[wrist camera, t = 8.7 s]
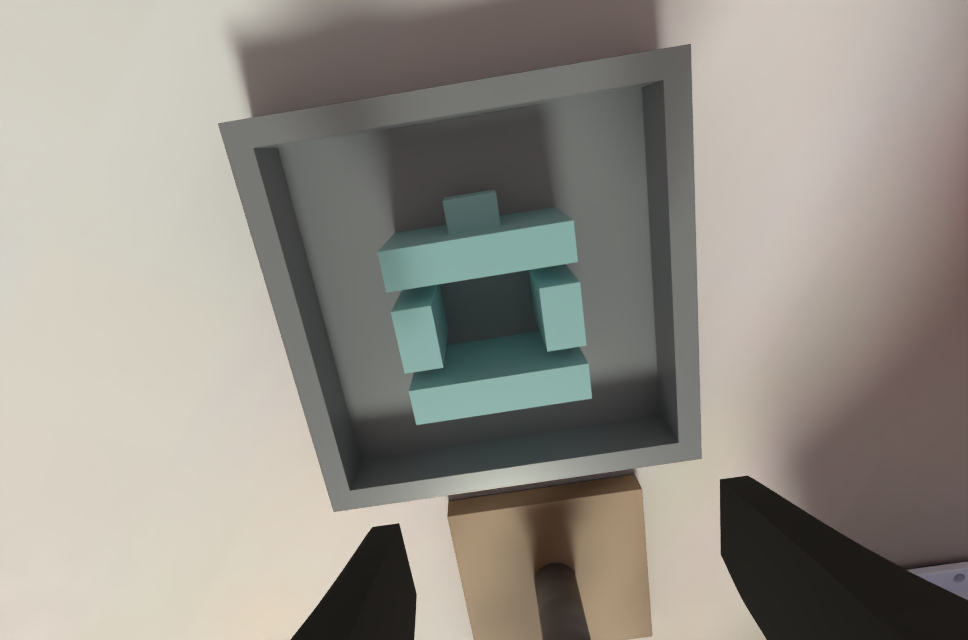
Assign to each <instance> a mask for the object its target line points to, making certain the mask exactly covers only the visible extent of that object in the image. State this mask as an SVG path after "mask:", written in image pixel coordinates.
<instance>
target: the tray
mask: <svg viewBox="0 0 968 640" xmlns="http://www.w3.org/2000/svg"><path fill="white" fill-rule="evenodd" d="M218 125H219V129H220V132H221V135H222V139H223V142H224V145H225V149H226V152H227V156H228V159H229V162H230V166H231V169H232V172H233V176H234V179H235V182H236V186H237V189H238V192H239V196H240V199H241V203H242V206H243V209H244V213H245V216H246V219H247V223H248V226H249V229H250V233H251V236H252V239H253V243H254V246H255V250H256V253H257V256H258V260H259V263H260V266H261V270H262V273H263V276H264V280H265V283H266V286H267V290H268V293H269V297H270V300H271V303H272V307H273V310H274V313H275V317H276V320H277V323H278V327H279V330H280V333H281V337H282V340H283V344H284V347H285V350H286V354H287V357H288V360H289V364H290V367H291V370H292V374H293V377H294V380H295V384H296V387H297V391H298V394H299V397H300V401H301V404H302V407H303V411H304V414H305V417H306V421H307V424H308V427H309V431H310V434H311V438H312V441H313V444H314V448H315V451H316V454H317V458H318V461H319V464H320V468H321V471H322V474H323V478H324V481H325V485H326V488H327V491H328V495H329V498H330V501H331V505H332V508H333V511H334V512H336V511H343V510H350V509H357V508H364V507H371V506H378V505H385V504H392V503H399V502H406V501H413V500H419V499H426V498H433V497H440V496H447V495H454V494H461V493H468V492H475V491H482V490H489V489H496V488H502V487H509V486H516V485H523V484H530V483H537V482H544V481H551V480H558V479H565V478H572V477H579V476H586V475H592V474H599V473H606V472H613V471H620V470H627V469H634V468H641V467H648V466H655V465H662V464H669V463H676V462H682V461H689V460H696V459H702V451H701V414H700V376H699V338H698V300H697V262H696V224H695V186H694V148H693V110H692V72H691V44H688V45H682V46H676V47H670V48H664V49H658V50H652V51H646V52H640V53H634V54H628V55H622V56H616V57H610V58H604V59H599V60H593V61H587V62H581V63H575V64H569V65H563V66H557V67H551V68H545V69H539V70H533V71H527V72H521V73H515V74H509V75H503V76H497V77H491V78H486V79H480V80H474V81H468V82H462V83H456V84H450V85H444V86H438V87H432V88H426V89H420V90H414V91H408V92H402V93H396V94H390V95H384V96H378V97H372V98H367V99H361V100H355V101H349V102H343V103H337V104H331V105H325V106H319V107H313V108H307V109H301V110H295V111H289V112H283V113H277V114H271V115H265V116H259V117H253V118H248V119H242V120H236V121H230V122H224V123H218ZM493 189H494V190H495V192H496V196H497V203H498V210H499V216H502V215H508V214H514V213H520V212H527V211H533V210H539V209H545V208H551V207H556V208H557V209H559V210H560V211H561V212H563V213H564V214H566V215H567V216H568V217H570V218H571V219H573V220H574V228H575V238H576V248H577V257H578V262H575V263H569V264H566V265H567V266H568V268H569V269H570V270H571V271H572V273H573V274H574V275H575V276H576V278H577V279H578V280H579V281H580V286H581V296H582V306H583V315H584V325H585V335H586V344H587V346H580V349H581V351H582V352H583V354H584V356H585V358H586V360H587V362H588V364H589V373H590V383H591V393H592V399H585V400H579V401H572V402H565V403H559V404H552V405H546V406H539V407H533V408H526V409H519V410H513V411H506V412H500V413H493V414H486V415H480V416H473V417H467V418H460V419H454V420H447V421H440V422H434V423H427V424H421V425H416V421H415V417H414V413H413V408H412V404H411V399H410V395H409V388H410V384H411V381H412V377H413V373H414V372H413V373H406V374H405V373H404V369H403V364H402V360H401V355H400V351H399V346H398V342H397V338H396V333H395V329H394V324H393V320H392V316H391V311H392V309H393V307H394V305H395V303H396V301H397V299H398V297H399V295H400V293H401V291H402V290H400V291H394V292H388V293H386V289H385V285H384V280H383V276H382V272H381V267H380V263H379V258H378V254H377V252H378V251H379V250H380V249H381V248H382V246H383V245H384V244H385V243H386V242H387V241H388V240H389V239H390V238H391V237H392V236H393V234H394V233H398V232H404V231H410V230H416V229H423V228H429V227H435V226H441V225H447V223H446V217H445V212H444V206H443V200H444V198H445V197H451V196H457V195H463V194H469V193H475V192H481V191H487V190H493ZM440 288H441V293H442V299H443V304H444V309H445V314H446V319H447V325H448V337H447V344H446V345H452V344H459V343H465V342H472V341H478V340H484V339H491V338H497V337H504V336H510V335H516V334H523V333H529V332H536V331H540V330H539V328H538V325H537V322H536V319H535V317H534V310H533V302H532V295H531V288H530V280H529V273H528V270H525V271H519V272H513V273H506V274H500V275H494V276H488V277H481V278H475V279H469V280H463V281H456V282H450V283H444V284H440Z"/></svg>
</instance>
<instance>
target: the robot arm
mask: <svg viewBox="0 0 968 640" xmlns="http://www.w3.org/2000/svg"><path fill="white" fill-rule="evenodd" d="M720 525H721V556H722V558H723V560H724V562H725V564H726V566H727V569H728V571H729V573H730V575H731V577H732V579H733V582H734V584H735V586H736V588H737V590H738V592H739V594H740V596H741V598H742V600H743V602H744V603H745V605H746V607H747V608H748V610H749V612H750V613H751V615H752V616H753V618H754V620H755V621H756V623H757V625H758V626H759V628H760V629H761V631H762V633H763V634H764V636H765V637H766V639H767V640H968V562H960V563H953V564H946V565H938V566H931V567H924V568H917V569H909V570H905V569H903V568H902V567H900V566H898V565H896V564H894V563H892V562H891V561H889V560H887V559H885V558H883V557H881V556H880V555H878V554H876V553H874V552H872V551H870V550H869V549H867V548H865V547H863V546H862V545H860V544H858V543H856V542H855V541H853V540H851V539H849V538H848V537H846V536H844V535H843V534H841V533H839V532H838V531H836V530H834V529H833V528H831V527H829V526H828V525H826V524H824V523H823V522H821V521H820V520H818V519H816V518H815V517H813V516H811V515H810V514H808V513H807V512H805V511H803V510H802V509H800V508H799V507H797V506H796V505H794V504H792V503H791V502H789V501H788V500H786V499H785V498H783V497H781V496H780V495H778V494H777V493H775V492H774V491H772V490H770V489H769V488H767V487H766V486H764V485H762V484H761V483H759V482H758V481H756V480H754V479H753V478H751V477H749V476H742V477H735V478H727V479H720ZM415 615H416V590H415V586H414V582H413V578H412V574H411V570H410V566H409V562H408V558H407V554H406V549H405V545H404V541H403V537H402V533H401V529H400V525H399V524H392V525H384V526H377V527H372V529H371V530H370V531H369V532H368V534H367V535H366V537H365V538H364V540H363V541H362V543H361V544H360V546H359V547H358V549H357V550H356V552H355V553H354V554H353V556H352V557H351V559H350V560H349V562H348V563H347V565H346V566H345V568H344V569H343V571H342V572H341V573H340V575H339V576H338V578H337V579H336V581H335V582H334V583H333V585H332V586H331V587H330V589H329V590H328V592H327V593H326V594H325V596H324V597H323V599H322V600H321V601H320V603H319V604H318V605H317V607H316V608H315V609H314V611H313V612H312V613H311V615H310V616H309V617H308V618H307V620H306V621H305V622H304V623H303V625H302V626H301V627H300V628H299V630H298V631H297V632H296V633H295V635H294V636H293V637H292V639H291V640H414V632H415Z"/></svg>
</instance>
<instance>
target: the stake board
mask: <svg viewBox="0 0 968 640" xmlns="http://www.w3.org/2000/svg"><path fill="white" fill-rule="evenodd" d="M448 522H449V526H450V531H451V536H452V540H453V545H454V549H455V554H456V559H457V563H458V568H459V573H460V577H461V582H462V587H463V591H464V596H465V601H466V605H467V610H468V615H469V619H470V624H471V629H472V633H473V638H474V640H628V639H636V638H643V637H651V636H652V624H651V610H650V596H649V582H648V567H647V553H646V539H645V524H644V510H643V496H642V488H641V486H640V484H639V482H638V480H637V478H636V476H635V474H634V475H627V476H620V477H613V478H606V479H599V480H592V481H585V482H578V483H571V484H564V485H557V486H550V487H543V488H536V489H529V490H523V491H516V492H509V493H502V494H495V495H488V496H481V497H474V498H467V499H460V500H453V501H449V502H448Z"/></svg>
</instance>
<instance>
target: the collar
mask: <svg viewBox="0 0 968 640" xmlns="http://www.w3.org/2000/svg"><path fill="white" fill-rule="evenodd" d="M443 206H444V212H445V217H446V223H447V225H441V226H435V227H429V228H423V229H416V230H410V231H404V232H398V233H394V234H393V236H392V237H391V238H390V239H389V240H388V241H387V242H386V243H385V244H384V245H383V246H382V248H381V249H380V250H379V251H378V252H377V254H378V258H379V263H380V267H381V272H382V276H383V280H384V285H385V289H386V293H388V292H394V291H400V290H402V291H401V293H400V295H399V297H398V299H397V301H396V303H395V305H394V307H393V309H392V311H391V316H392V320H393V324H394V329H395V333H396V338H397V342H398V346H399V351H400V355H401V360H402V364H403V369H404V373H405V374H406V373H413V372H414V373H413V377H412V381H411V384H410V388H409V395H410V399H411V404H412V408H413V413H414V417H415V421H416V425H421V424H427V423H434V422H440V421H447V420H454V419H460V418H467V417H473V416H480V415H486V414H493V413H500V412H506V411H513V410H519V409H526V408H533V407H539V406H546V405H552V404H559V403H565V402H572V401H579V400H585V399H592V393H591V383H590V373H589V364H588V362H587V360H586V358H585V356H584V354H583V352H582V351H581V349H580V346H587V344H586V335H585V325H584V315H583V306H582V296H581V286H580V281H579V280H578V279H577V278H576V276H575V275H574V274H573V273H572V271H571V270H570V269H569V268H568V266H567V265H566V264H569V263H575V262H578V257H577V248H576V238H575V228H574V220H573V219H571V218H570V217H568V216H567V215H566V214H564V213H563V212H561V211H560V210H559V209H557V208H556V207H551V208H545V209H539V210H533V211H527V212H520V213H514V214H508V215H502V216H499V210H498V203H497V196H496V192H495V190H494V189H493V190H487V191H481V192H475V193H469V194H463V195H457V196H451V197H445V198H444V200H443ZM525 270H528V273H529V280H530V288H531V295H532V302H533V310H534V317H535V319H536V322H537V325H538V328H539V330H540V331H536V332H529V333H523V334H516V335H510V336H504V337H497V338H491V339H484V340H478V341H472V342H465V343H459V344H452V345H446V344H447V337H448V325H447V319H446V314H445V309H444V304H443V299H442V293H441V288H440V284H444V283H450V282H456V281H463V280H469V279H475V278H481V277H488V276H494V275H500V274H506V273H513V272H519V271H525Z"/></svg>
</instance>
